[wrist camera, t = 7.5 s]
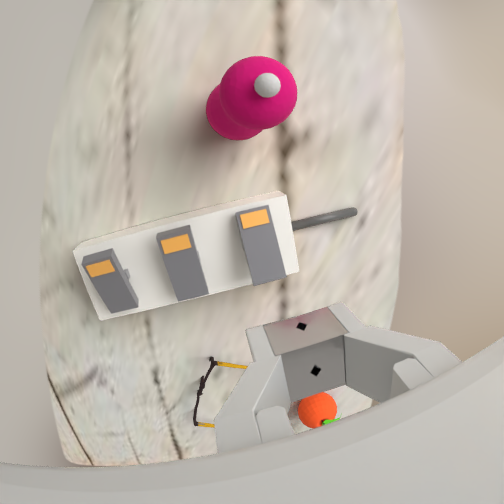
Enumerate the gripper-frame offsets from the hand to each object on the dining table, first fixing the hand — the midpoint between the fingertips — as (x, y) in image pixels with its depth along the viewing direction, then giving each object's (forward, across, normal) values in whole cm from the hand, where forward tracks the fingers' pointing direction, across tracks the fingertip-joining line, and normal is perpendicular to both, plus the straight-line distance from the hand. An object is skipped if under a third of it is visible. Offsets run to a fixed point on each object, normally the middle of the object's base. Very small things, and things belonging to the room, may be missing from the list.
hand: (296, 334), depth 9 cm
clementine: (+33, -8, +40) cm, 53 cm away
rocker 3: (+27, -3, +6) cm, 28 cm away
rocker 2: (+27, +6, +6) cm, 28 cm away
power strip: (+33, +1, +7) cm, 34 cm away
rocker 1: (+27, +15, +6) cm, 31 cm away
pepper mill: (+33, -4, -9) cm, 35 cm away
